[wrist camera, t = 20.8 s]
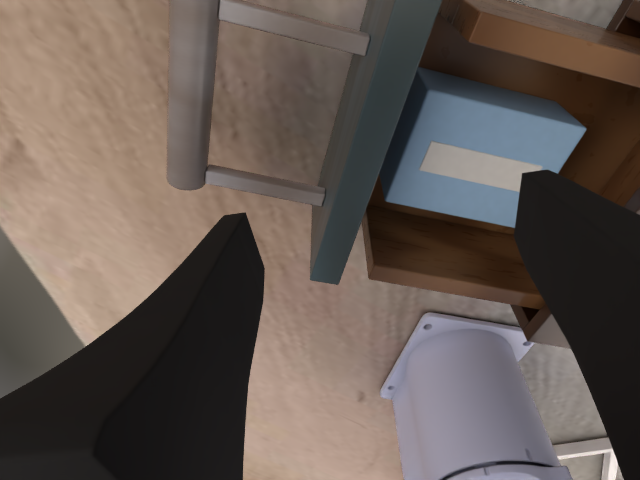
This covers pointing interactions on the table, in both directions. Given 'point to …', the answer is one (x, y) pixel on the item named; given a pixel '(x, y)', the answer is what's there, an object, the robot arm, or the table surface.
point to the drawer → (384, 112)
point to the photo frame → (591, 449)
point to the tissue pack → (472, 147)
